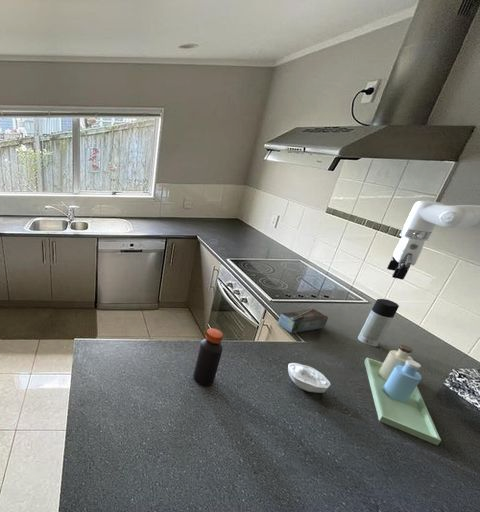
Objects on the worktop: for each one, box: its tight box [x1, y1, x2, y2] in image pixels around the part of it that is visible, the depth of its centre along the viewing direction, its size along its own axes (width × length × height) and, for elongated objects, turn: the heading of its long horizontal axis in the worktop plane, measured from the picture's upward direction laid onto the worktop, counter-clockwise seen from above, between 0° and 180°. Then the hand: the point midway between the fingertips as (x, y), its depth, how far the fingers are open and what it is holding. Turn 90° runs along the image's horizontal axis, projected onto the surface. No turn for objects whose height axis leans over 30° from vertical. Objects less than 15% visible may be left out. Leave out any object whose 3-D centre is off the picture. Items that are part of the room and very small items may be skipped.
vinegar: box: [193, 327, 224, 387], centre depth 94 cm, size 7×7×20 cm
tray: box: [363, 357, 442, 446], centre depth 93 cm, size 12×31×3 cm, turn 144°
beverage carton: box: [277, 308, 329, 334], centre depth 128 cm, size 8×19×7 cm, turn 103°
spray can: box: [357, 298, 400, 348], centre depth 116 cm, size 7×7×20 cm
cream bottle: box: [378, 344, 415, 381], centre depth 98 cm, size 6×6×14 cm
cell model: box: [287, 362, 331, 393], centre depth 95 cm, size 10×12×7 cm
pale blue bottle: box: [382, 359, 423, 402], centre depth 91 cm, size 6×6×14 cm
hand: (394, 274), depth 113 cm, fingers open, 9 cm apart
